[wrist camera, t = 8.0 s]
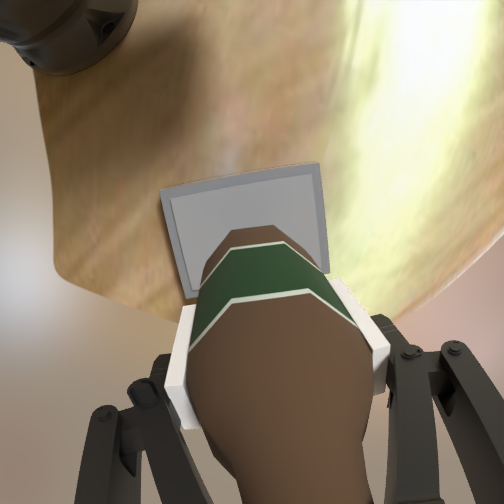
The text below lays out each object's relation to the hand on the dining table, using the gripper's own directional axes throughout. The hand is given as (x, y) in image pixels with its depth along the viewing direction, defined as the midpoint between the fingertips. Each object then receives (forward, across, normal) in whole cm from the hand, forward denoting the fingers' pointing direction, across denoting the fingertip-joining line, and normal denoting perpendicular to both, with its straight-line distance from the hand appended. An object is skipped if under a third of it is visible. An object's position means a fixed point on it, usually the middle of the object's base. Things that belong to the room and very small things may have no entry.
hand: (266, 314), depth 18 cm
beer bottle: (+6, 0, 0) cm, 6 cm away
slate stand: (+18, 0, 0) cm, 18 cm away
